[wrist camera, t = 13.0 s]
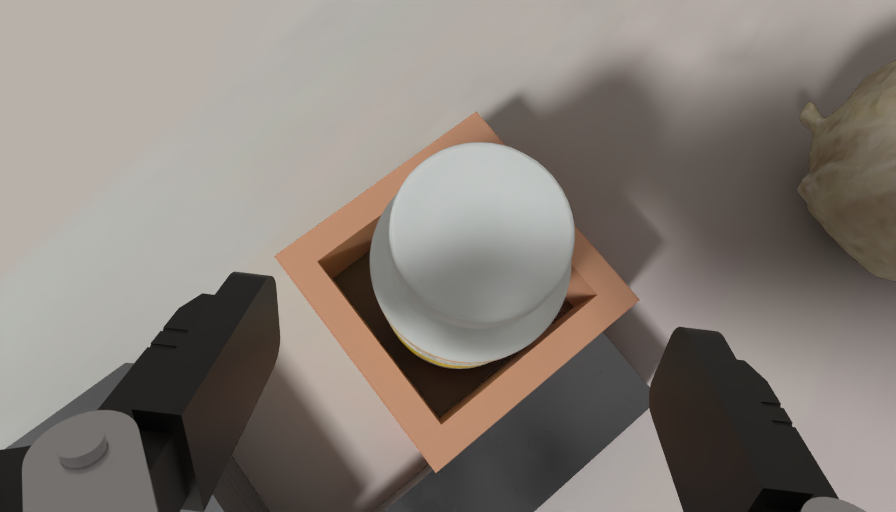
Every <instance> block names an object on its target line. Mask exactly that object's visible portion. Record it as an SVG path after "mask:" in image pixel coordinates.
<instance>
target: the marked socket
mask: <svg viewBox="0 0 896 512" xmlns="http://www.w3.org/2000/svg"><path fill="white" fill-rule="evenodd" d="M470 142H488V143H496V144H501V145H505V144H504V143H503V142H502V140H501V139H500V138H499V137H498V136H497V135H496V134H495V132H494V131H493V130H492V129H491V128H490V127H489V126H488V124H487V123H486V122H485V121H484V120H483V119H482V117H481V116H480V115H479V114H478V113H477V112H475V113H473V114H472V115H471V116H469V117H468V118H467V119H465V120H464V121H462V122H461V123H460V124H458V125H457V126H455V127H454V128H453V129H451V130H450V131H448V132H447V133H446V134H444V135H443V136H441V137H440V138H439V139H437V140H436V141H434V142H433V143H432V144H430V145H429V146H427V147H426V148H425V149H423V150H422V151H420V152H419V153H418V154H416V155H415V156H413V157H412V158H411V159H409V160H408V161H407V162H405V163H404V164H402V165H401V166H400V167H398V168H397V169H395V170H394V171H393V172H391V173H390V174H388V175H387V176H386V177H384V178H383V179H381V180H380V181H379V182H377V183H376V184H374V185H373V186H372V187H370V188H369V189H367V190H366V191H365V192H363V193H362V194H360V195H359V196H358V197H356V198H355V199H354V200H352V201H351V202H349V203H348V204H347V205H345V206H344V207H342V208H341V209H340V210H338V211H337V212H335V213H334V214H333V215H331V216H330V217H328V218H327V219H326V220H324V221H323V222H321V223H320V224H319V225H317V226H316V227H314V228H313V229H312V230H310V231H309V232H307V233H306V234H305V235H303V236H302V237H300V238H299V239H298V240H296V241H295V242H294V243H292V244H291V245H289V246H288V247H287V248H285V249H284V250H282V251H281V252H280V253H278V254H277V255H275V256H274V257H275V258H276V259H277V261H278V262H279V263H280V265H281V266H282V267H283V269H284V270H285V271H286V273H287V274H288V275H289V277H290V278H291V279H292V281H293V282H294V283H295V285H296V286H297V288H298V289H299V290H300V292H301V293H302V294H303V296H304V297H305V298H306V300H307V301H308V302H309V304H310V305H311V306H312V308H313V309H314V310H315V312H316V313H317V314H318V316H319V317H320V318H321V320H322V321H323V322H324V324H325V325H326V326H327V328H328V329H329V330H330V332H331V333H332V334H333V336H334V337H335V339H336V340H337V341H338V343H339V344H340V345H341V347H342V348H343V349H344V351H345V352H346V353H347V355H348V356H349V357H350V359H351V360H352V361H353V363H354V364H355V365H356V367H357V368H358V369H359V371H360V372H361V373H362V375H363V376H364V377H365V379H366V380H367V381H368V383H369V384H370V385H371V387H372V388H373V390H374V391H375V392H376V394H377V395H378V396H379V398H380V399H381V400H382V402H383V403H384V404H385V406H386V407H387V408H388V410H389V411H390V412H391V414H392V415H393V416H394V418H395V419H396V420H397V422H398V423H399V424H400V426H401V427H402V428H403V430H404V431H405V432H406V434H407V435H408V436H409V438H410V439H411V441H412V442H413V443H414V445H415V446H416V447H417V449H418V450H419V451H420V453H421V454H422V455H423V457H424V458H425V459H426V461H427V462H428V463H429V465H430V466H431V467H432V469H433V470H434V471H435V473H437V472H438V471H439V470H440V469H441V468H443V467H444V466H445V465H446V464H447V463H449V462H450V461H451V460H452V459H453V458H454V457H456V456H457V455H458V454H459V453H460V452H461V451H463V450H464V449H465V448H466V447H467V446H469V445H470V444H471V443H472V442H473V441H474V440H476V439H477V438H478V437H479V436H480V435H481V434H483V433H484V432H485V431H486V430H487V429H489V428H490V427H491V426H492V425H493V424H494V423H496V422H497V421H498V420H499V419H500V418H501V417H503V416H504V415H505V414H506V413H507V412H509V411H510V410H511V409H512V408H513V407H514V406H516V405H517V404H518V403H519V402H520V401H521V400H523V399H524V398H525V397H526V396H527V395H529V394H530V393H531V392H532V391H533V390H534V389H536V388H537V387H538V386H539V385H540V384H541V383H543V382H544V381H545V380H546V379H547V378H549V377H550V376H551V375H552V374H553V373H554V372H556V371H557V370H558V369H559V368H560V367H561V366H563V365H564V364H565V363H566V362H567V361H569V360H570V359H571V358H572V357H573V356H574V355H576V354H577V353H578V352H579V351H580V350H581V349H583V348H584V347H585V346H586V345H587V344H588V343H590V342H591V341H592V340H593V339H594V338H596V337H597V336H598V335H599V334H600V333H601V332H603V331H604V330H605V329H606V328H607V327H608V326H610V325H611V324H612V323H613V322H614V321H616V320H617V319H618V318H619V317H620V316H621V315H623V314H624V313H625V312H626V311H627V310H628V309H630V308H631V307H632V306H633V305H634V304H636V303H637V302H638V301H639V298H638V297H637V296H636V295H635V294H634V293H633V291H632V290H631V289H630V288H629V287H628V286H627V285H626V283H625V282H624V281H623V280H622V279H621V278H620V276H619V275H618V274H617V273H616V272H615V271H614V270H613V268H612V267H611V266H610V265H609V264H608V263H607V262H606V260H605V259H604V258H603V257H602V256H601V255H600V253H599V252H598V251H597V250H596V249H595V248H594V247H593V245H592V244H591V243H590V242H589V241H588V240H587V238H586V237H585V236H584V235H583V234H582V233H581V232H580V230H579V229H578V228H577V227H576V226H575V225H574V226H575V242H574V250H573V255H572V258H571V277H570V282H569V287H568V291H567V294H566V299H567V300H568V301H569V302H570V303H571V304H572V306H573V308H572V309H570V310H569V311H568V312H567V313H566V314H564V315H563V316H562V317H561V318H560V319H558V320H557V321H556V322H555V323H554V324H552V325H551V326H550V327H549V328H548V329H546V330H545V331H544V332H543V333H542V334H541V335H540V336H539V337H538V338H537V339H536V340H534V341H533V342H532V343H530V344H529V345H528V346H526V347H525V348H523V349H522V350H521V351H520V352H519V353H517V354H516V355H515V356H514V357H513V358H511V359H510V360H509V361H508V362H507V363H505V364H504V365H503V366H502V367H501V368H499V369H498V370H497V371H496V372H494V373H493V374H492V375H491V376H490V377H488V378H487V379H486V380H485V381H484V382H482V383H481V384H480V385H479V386H478V387H476V388H475V389H474V390H473V391H472V392H470V393H469V394H468V395H467V396H466V397H464V398H463V399H462V400H461V401H460V402H458V403H457V404H456V405H455V406H453V407H452V408H451V409H450V410H449V411H447V412H446V413H445V414H444V415H443V416H441V417H440V418H439V417H438V416H437V415H436V413H435V412H434V411H433V410H432V408H431V407H430V406H429V404H428V403H427V402H426V400H425V399H424V398H423V396H422V395H421V394H420V392H419V391H418V390H417V388H416V387H415V386H414V385H413V383H412V382H411V381H410V379H409V378H408V377H407V375H406V374H405V373H404V371H403V370H402V369H401V367H400V366H399V365H398V364H397V362H396V361H395V360H394V358H393V357H392V356H391V354H390V353H389V352H388V350H387V349H386V348H385V346H384V345H383V344H382V342H381V341H380V340H379V339H378V337H377V336H376V335H375V333H374V332H373V331H372V329H371V328H370V327H369V325H368V324H367V323H366V321H365V320H364V319H363V317H362V316H361V315H360V314H359V312H358V311H357V310H356V308H355V307H354V306H353V304H352V303H351V302H350V300H349V299H348V298H347V296H346V295H345V294H344V293H343V291H342V290H341V289H340V287H339V286H338V285H337V283H336V282H335V281H334V279H333V278H334V277H335V276H336V275H338V274H339V273H340V272H342V271H343V270H345V269H346V268H347V267H349V266H350V265H351V264H353V263H354V262H355V261H357V260H358V259H359V258H361V257H362V256H363V255H365V254H366V253H367V252H369V251H370V250H371V243H372V238H373V234H374V231H375V229H376V226H377V223H378V221H379V219H380V217H381V215H382V213H383V211H384V210H385V208H386V206H387V205H388V203H389V202H390V201H391V200H392V198H393V197H394V196H395V195H396V194H397V193H398V191H399V189H400V187H401V186H402V184H403V183H404V181H405V180H406V178H407V177H408V175H409V174H410V173H411V172H412V171H413V170H414V169H415V168H416V167H417V166H418V165H419V164H420V163H422V162H423V161H424V160H425V159H427V158H428V157H430V156H432V155H433V154H435V153H437V152H439V151H441V150H443V149H446V148H448V147H452V146H455V145H459V144H463V143H470ZM505 146H506V145H505Z"/></svg>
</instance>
